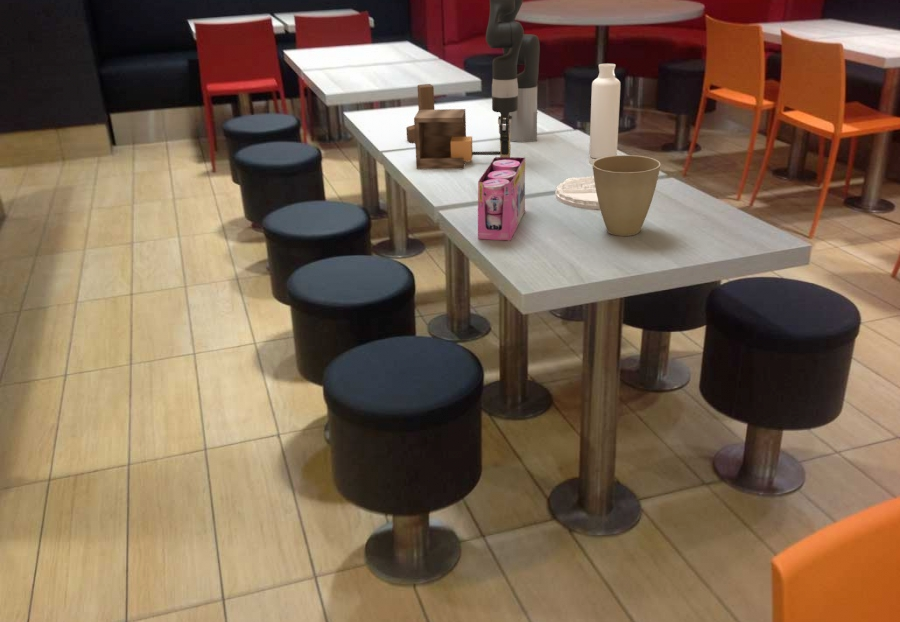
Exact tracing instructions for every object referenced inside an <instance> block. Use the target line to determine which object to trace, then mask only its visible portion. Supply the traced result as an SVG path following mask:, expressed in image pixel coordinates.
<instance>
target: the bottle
mask: <svg viewBox="0 0 900 622" xmlns="http://www.w3.org/2000/svg"><path fill="white" fill-rule="evenodd" d="M615 69H616V64H615V63H599V64H598V72H599V73H598V74H597V75H598V76H597V77H596V78H595V79H594V80H592V82H591V100H590V104H591V105H590V128H589V129H590V131H589V153H588V155H589V157H588V163H589V164H591V165H592V163H593V162H594V161H595V160H597V159H600V158H603V157H608V156H617V154H618V139H619V122H620V120H619V119H620V100H621V81H620V80H619V79H618V78H617V77H616V74H615Z"/></svg>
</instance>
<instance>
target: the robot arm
mask: <svg viewBox="0 0 900 622" xmlns="http://www.w3.org/2000/svg"><path fill="white" fill-rule="evenodd" d="M523 1H524V0H489V17H488V23H487V28H486V33H485V41H486V44H487V45H488V47H490V48H491V49H502V52H503V55H501V56H500V55H499V56H497V57H494V58H493V60H492V82H491V110H492V112H494V113H500V116H498V119H497V124H498V133H499V142H500V141H501V154H502V155H508V154H509V134H510V142H511V141H512V142H518V143H522V142H523V143H527V142H533V141H534V142H535V141H537V140H538V81H539V71H540V70H539V65H540V51H541V50H540V48H541V47H540V40H539V37H538V36H537V35H535V34H530V33H529V34H527V33H524V27H523V26H522V24H521V22H519V21H515V20H516V17H517V15H518V13H519V11H520V9H521V8H522V5H523ZM518 65H521V66H522V65H523V66H524V69H523V71H522V72H519V73H518ZM502 135H507V137H502Z"/></svg>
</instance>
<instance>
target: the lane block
mask: <svg viewBox="0 0 900 622" xmlns="http://www.w3.org/2000/svg"><path fill="white" fill-rule="evenodd" d="M502 137H507V135H502ZM473 156H499V157H511V140H510V134H509V154H508V155H502V154H501V141H500V140H499V151H498V150H497V151H473V136H472V135H471V136H466V137H452V139H451V158H464V161H466V162H472V160H473Z"/></svg>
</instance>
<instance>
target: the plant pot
mask: <svg viewBox="0 0 900 622" xmlns="http://www.w3.org/2000/svg"><path fill="white" fill-rule="evenodd" d="M591 166H592V172H593V174H592V175H593V176H594V182H595V188H596V193H597V198H598V202H599V206H600V212H601V217H602V219H603V220H602V221H603V223H604V225H605V229H606V231H607V232H608V233H609V234H610V235H614V236H618V237H630V236H636V235H637V234H639V233H640V231H641V229H642V227H643V225H644V222H645V220H646V218H647V215H648V212H649V210H650V208H651V204H652V201H653V198H654V194H655V191H656V188H657V183H658V179H659V174H660V169H661V162H660V161H659V160H658V159H655V158H652V157H649V156H643V155H636V154H635V155H629V154H628V155H627V154H620V155H617V156H608V157H603V158H600V159H597V160H595V161H594V162H593V163H592V164H591Z"/></svg>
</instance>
